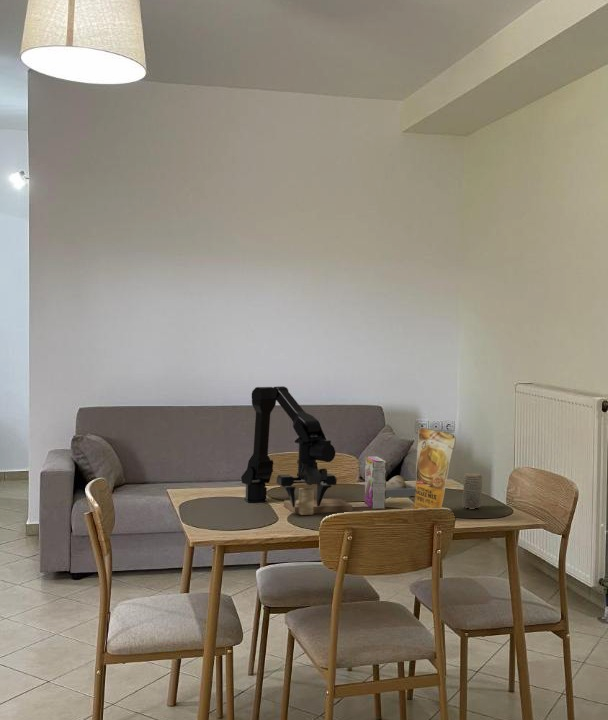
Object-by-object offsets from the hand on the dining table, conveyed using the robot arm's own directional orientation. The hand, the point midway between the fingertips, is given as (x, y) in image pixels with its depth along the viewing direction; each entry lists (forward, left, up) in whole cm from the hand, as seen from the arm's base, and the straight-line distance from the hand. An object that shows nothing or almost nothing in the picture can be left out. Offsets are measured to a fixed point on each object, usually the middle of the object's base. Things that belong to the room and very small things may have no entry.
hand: (305, 506), depth 269 cm
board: (+7, +8, -3) cm, 11 cm away
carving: (+60, -1, -3) cm, 60 cm away
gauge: (0, +3, -2) cm, 4 cm away
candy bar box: (+28, +9, -3) cm, 30 cm away
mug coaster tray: (+44, +29, -3) cm, 53 cm away
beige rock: (+43, +28, -3) cm, 51 cm away
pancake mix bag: (+40, -9, -3) cm, 41 cm away
